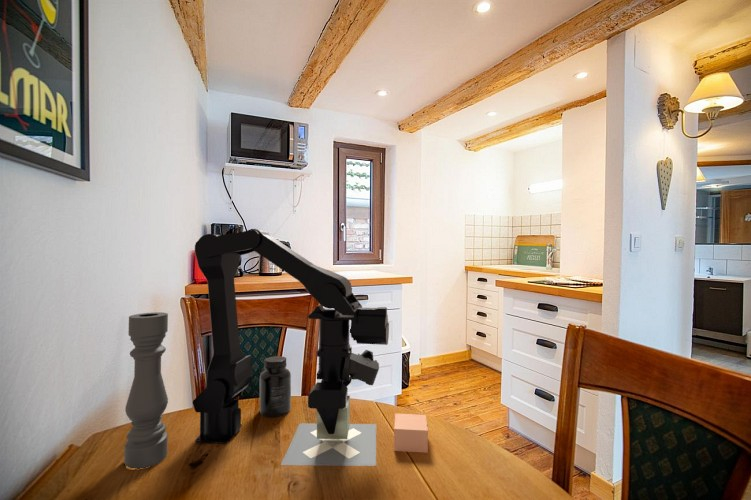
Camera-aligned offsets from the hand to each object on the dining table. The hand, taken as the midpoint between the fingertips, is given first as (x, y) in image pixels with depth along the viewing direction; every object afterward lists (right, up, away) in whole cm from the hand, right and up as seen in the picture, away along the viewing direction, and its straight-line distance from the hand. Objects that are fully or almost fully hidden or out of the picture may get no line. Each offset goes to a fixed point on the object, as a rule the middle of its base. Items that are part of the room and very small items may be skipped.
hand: (333, 425), depth 63 cm
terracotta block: (+15, -4, 0) cm, 15 cm away
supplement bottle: (-15, -4, +13) cm, 20 cm away
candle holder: (-32, -4, -5) cm, 33 cm away
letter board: (0, -4, 0) cm, 4 cm away
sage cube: (0, -1, 0) cm, 1 cm away
